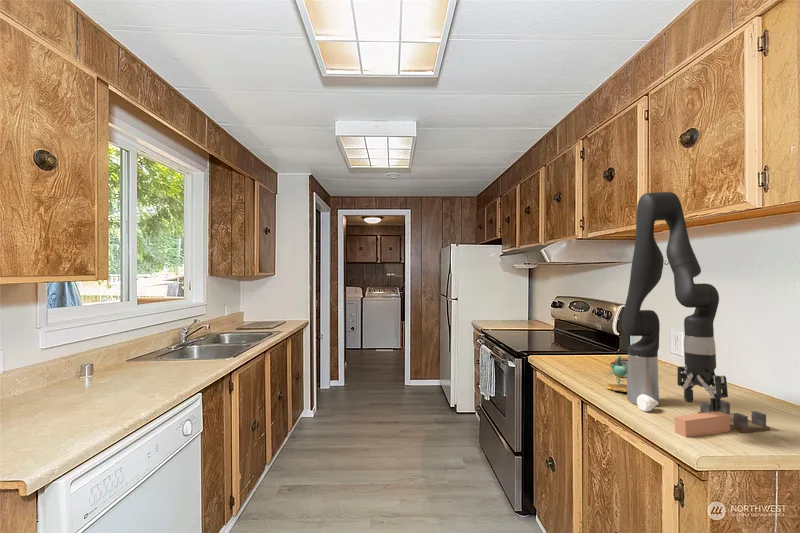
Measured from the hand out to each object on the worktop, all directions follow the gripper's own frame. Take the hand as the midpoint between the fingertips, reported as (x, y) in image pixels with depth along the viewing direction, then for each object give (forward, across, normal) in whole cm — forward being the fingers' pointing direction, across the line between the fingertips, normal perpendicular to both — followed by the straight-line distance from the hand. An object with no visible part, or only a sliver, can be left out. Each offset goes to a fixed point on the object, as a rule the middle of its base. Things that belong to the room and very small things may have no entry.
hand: (702, 406), depth 119 cm
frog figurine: (+7, -41, +5) cm, 42 cm away
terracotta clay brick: (+8, -1, 0) cm, 8 cm away
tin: (+6, -57, +23) cm, 62 cm away
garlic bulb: (+7, -20, -1) cm, 21 cm away
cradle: (+7, -5, +15) cm, 18 cm away
